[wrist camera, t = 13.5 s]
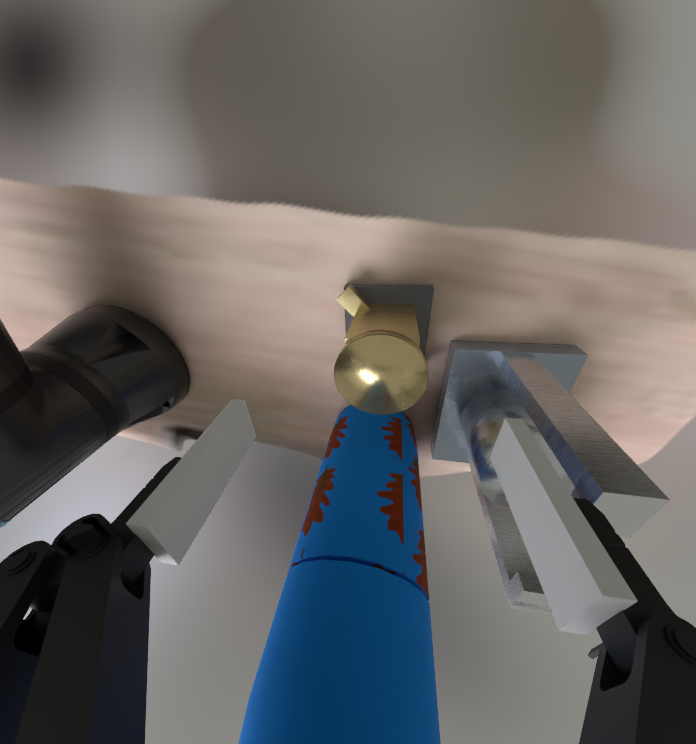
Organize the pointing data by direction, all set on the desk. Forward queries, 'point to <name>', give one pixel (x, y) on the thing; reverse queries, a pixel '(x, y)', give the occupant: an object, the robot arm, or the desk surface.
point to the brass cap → (380, 356)
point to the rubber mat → (400, 302)
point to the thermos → (353, 603)
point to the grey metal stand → (552, 432)
